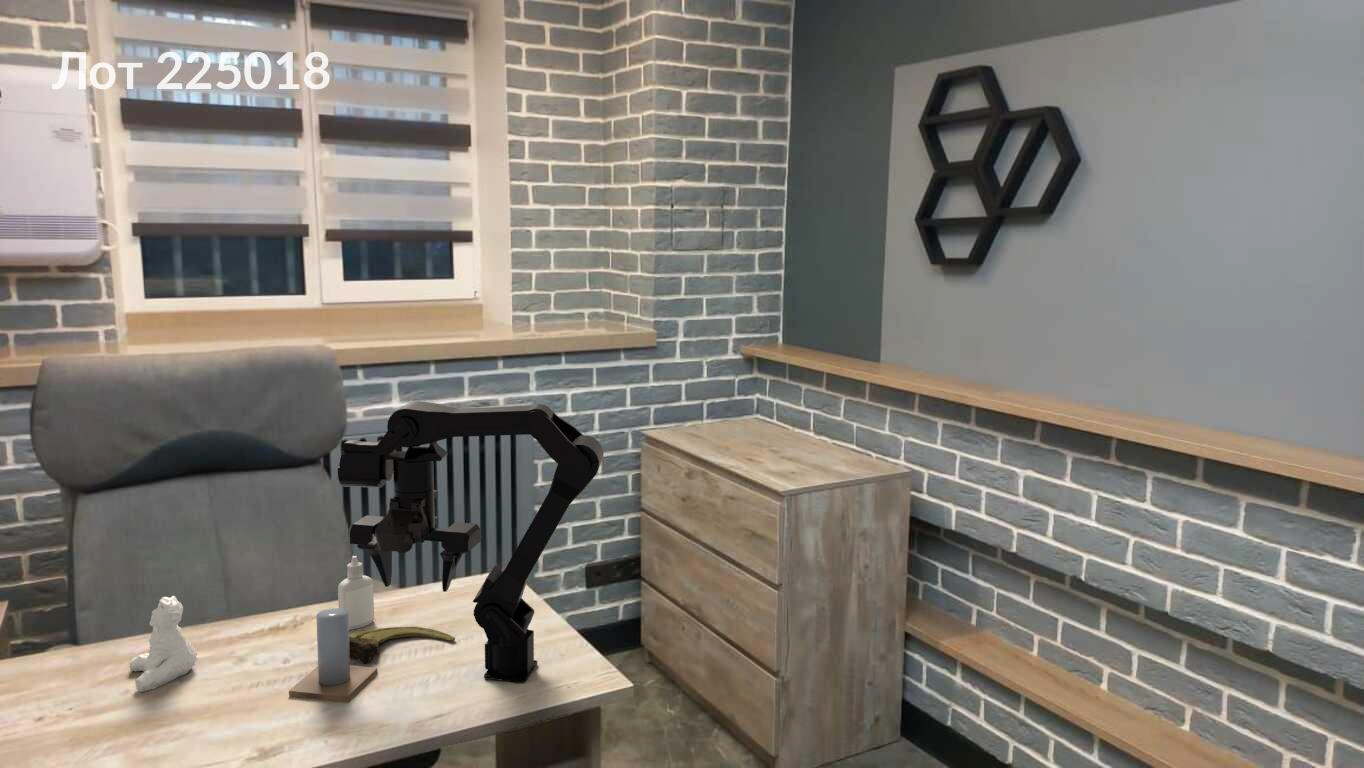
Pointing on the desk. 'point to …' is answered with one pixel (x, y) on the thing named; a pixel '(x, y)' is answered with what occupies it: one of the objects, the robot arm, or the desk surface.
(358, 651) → the claw
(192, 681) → the desk surface
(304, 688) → the coaster
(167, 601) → the white creature statuette
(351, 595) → the eye dropper bottle
